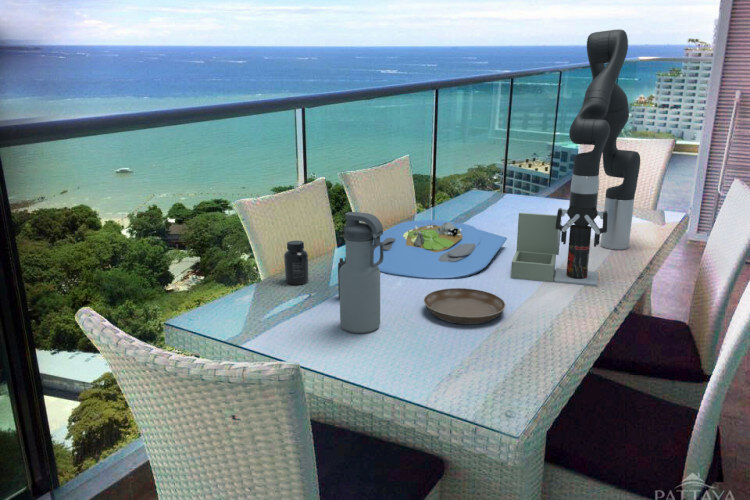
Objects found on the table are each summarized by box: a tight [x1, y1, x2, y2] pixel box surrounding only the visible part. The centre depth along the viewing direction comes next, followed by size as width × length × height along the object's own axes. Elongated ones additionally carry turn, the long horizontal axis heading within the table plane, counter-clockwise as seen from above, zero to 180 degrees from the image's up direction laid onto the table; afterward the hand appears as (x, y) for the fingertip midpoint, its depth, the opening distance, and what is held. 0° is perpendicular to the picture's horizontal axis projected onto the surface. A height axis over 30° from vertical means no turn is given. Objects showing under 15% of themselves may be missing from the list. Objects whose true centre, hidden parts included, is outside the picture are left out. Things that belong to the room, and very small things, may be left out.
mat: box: [553, 267, 599, 287], centre depth 189 cm, size 12×12×1 cm
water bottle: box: [338, 211, 384, 334], centre depth 151 cm, size 10×10×28 cm
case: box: [510, 212, 562, 283], centre depth 191 cm, size 13×13×17 cm
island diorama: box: [373, 219, 508, 280], centre depth 209 cm, size 45×43×12 cm
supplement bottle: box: [283, 240, 310, 286], centre depth 185 cm, size 7×7×12 cm
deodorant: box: [566, 223, 592, 279], centre depth 187 cm, size 6×6×15 cm
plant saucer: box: [423, 287, 506, 325], centre depth 163 cm, size 21×21×3 cm
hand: (579, 244), depth 186 cm, fingers open, 8 cm apart
